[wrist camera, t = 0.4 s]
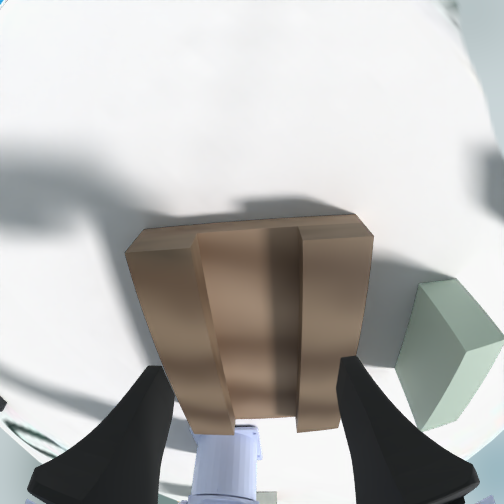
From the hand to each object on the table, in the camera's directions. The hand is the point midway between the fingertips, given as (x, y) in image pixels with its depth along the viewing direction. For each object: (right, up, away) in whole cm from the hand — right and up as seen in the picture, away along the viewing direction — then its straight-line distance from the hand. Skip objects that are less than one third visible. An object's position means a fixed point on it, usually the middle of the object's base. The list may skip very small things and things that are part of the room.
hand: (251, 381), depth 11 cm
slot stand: (+1, -2, +12) cm, 12 cm away
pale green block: (+16, -2, +12) cm, 20 cm away
